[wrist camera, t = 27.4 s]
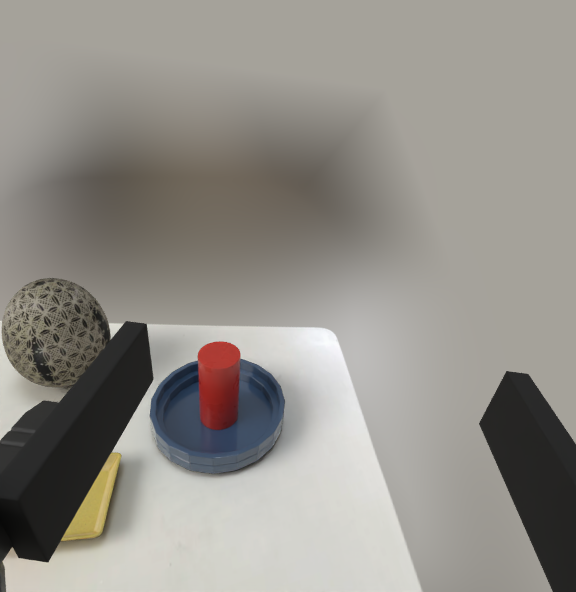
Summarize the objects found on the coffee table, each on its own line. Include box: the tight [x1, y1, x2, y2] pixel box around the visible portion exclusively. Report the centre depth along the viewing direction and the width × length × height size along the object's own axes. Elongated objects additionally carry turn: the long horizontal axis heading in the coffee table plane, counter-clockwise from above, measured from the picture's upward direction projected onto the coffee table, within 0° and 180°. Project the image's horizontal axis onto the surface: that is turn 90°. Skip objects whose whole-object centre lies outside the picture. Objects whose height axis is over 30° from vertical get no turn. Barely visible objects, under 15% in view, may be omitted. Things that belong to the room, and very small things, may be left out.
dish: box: [150, 359, 285, 474], centre depth 47 cm, size 16×16×4 cm
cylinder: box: [198, 342, 240, 430], centre depth 45 cm, size 5×5×10 cm
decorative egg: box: [2, 278, 110, 387], centre depth 48 cm, size 12×12×15 cm
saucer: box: [61, 453, 121, 541], centre depth 37 cm, size 9×9×2 cm
